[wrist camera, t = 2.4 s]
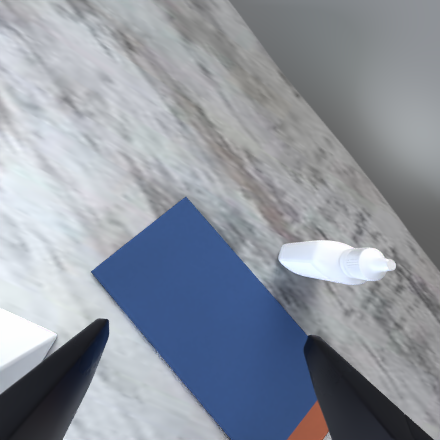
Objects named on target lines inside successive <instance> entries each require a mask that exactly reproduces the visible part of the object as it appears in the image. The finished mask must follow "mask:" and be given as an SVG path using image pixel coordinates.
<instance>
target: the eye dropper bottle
mask: <svg viewBox="0 0 440 440" xmlns="http://www.w3.org/2000/svg"><path fill="white" fill-rule="evenodd" d="M278 259H279V261H280V262H281V264H282V265H283V266H285V267H286V268H287V269H288V270H290V271H292V272H294V273H296V274H298V275H301V276H306V277H311V278H316V279H321V280H326V281H332V282H337V283H343V284H349V285H359V284H363V283H365V282H366V281H367V280H370V281H377V280H380V279H381V278H383V277H384V275H385V274H386V271H391V270H394V269H395V268H396V264H395V262H394V261H393V260H390V259H385V257H384V255H383V254H382V253H381V252H380V251H379V250H377V249H375V248H353V247H351V246H349V245H346V244H344V243H340V242H336V241H329V240H318V241H307V242H297V243H289V244H284V245H283V246H282V248H281V251H280V254H279V258H278Z"/></svg>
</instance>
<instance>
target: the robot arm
mask: <svg viewBox="0 0 440 440" xmlns="http://www.w3.org/2000/svg"><path fill="white" fill-rule="evenodd" d="M108 337H109V320H108V319H97V320H95V321H94V322H93V323H91V324H90V325H89V326H87V327H86V328H85V329H84V330H82V331H81V332H80V333H78V334H77V335H76V336H75V337H73V338H72V339H71V340H69V341H68V342H67V343H66V344H64V345H63V346H62V347H60V348H59V349H58V350H57V351H55V352H54V353H53V354H51V355H50V356H49V357H47V358H46V359H45V360H44V361H42V362H41V363H40V364H38V365H37V366H36V367H35V368H33V369H32V370H31V371H29V372H28V373H27V374H26V375H24V376H23V377H22V378H20V379H19V380H18V381H17V382H15V383H14V384H13V385H11V386H10V387H9V388H8V389H6V390H5V391H4V392H2V393H1V394H0V440H62V439H63V437H64V435H65V433H66V431H67V429H68V427H69V425H70V423H71V421H72V419H73V417H74V415H75V413H76V411H77V409H78V407H79V405H80V403H81V401H82V399H83V397H84V395H85V393H86V391H87V389H88V387H89V385H90V383H91V381H92V378H93V376H94V374H95V371H96V368H97V366H98V363H99V361H100V358H101V356H102V353H103V350H104V348H105V345H106V343H107V340H108ZM303 351H304V356H305V359H306V363H307V367H308V370H309V374H310V377H311V381H312V385H313V388H314V391H315V394H316V397H317V400H318V403H319V405H320V408H321V411H322V413H323V416H324V419H325V422H326V424H327V427H328V430H329V433H330V435H331V438H332V440H434V439H433V438H431V437H430V436H429V435H428V434H427V433H426V432H425V431H423V430H422V429H421V428H420V427H419V426H418V425H417V424H416V423H414V422H413V421H412V420H411V419H410V418H409V417H408V416H407V415H405V414H404V413H403V412H402V411H401V410H400V409H399V408H398V407H397V406H396V405H394V404H393V403H392V402H391V401H390V400H389V399H388V398H387V397H386V396H385V395H383V394H382V393H381V392H380V391H379V390H378V389H377V388H376V387H375V386H373V385H372V384H371V383H370V382H369V381H368V380H367V379H366V378H365V377H363V376H362V375H361V374H360V373H359V372H358V371H357V370H356V369H355V368H354V367H352V366H351V365H350V364H349V363H348V362H347V361H346V360H345V359H344V358H342V357H341V356H340V355H339V354H338V353H337V352H336V351H335V350H334V349H333V348H331V347H330V346H329V345H328V344H327V343H326V342H325V341H324V340H323V339H321V338H320V337H319V336H317V335H309V336H308V338H307V340H306V343H305V345H304V349H303Z"/></svg>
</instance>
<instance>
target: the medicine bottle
mask: <svg viewBox="0 0 440 440" xmlns="http://www.w3.org/2000/svg"><path fill="white" fill-rule="evenodd" d="M56 338H57V334H56V333H55V332H52V331H50V330H48V329H46V328H43V327H41V326H39V325H37V324H35V323H32V322H30V321H28V320H26V319H24V318H21V317H19V316H17V315H15V314H13V313H10V312H8V311H6V310H4V309H2V308H0V394H1V393H2V392H4V391H5V390H6V389H8V388H9V387H10V386H11V385H13V384H14V383H15V382H17V381H18V380H19V379H20V378H22V377H23V376H24V375H26V374H27V373H28V372H29V371H31V370H32V369H33V368H35V367H36V366H37V365H38V364H40V363H41V362H42V361H43V359H44V358H45V356H46V354H47V353H48V351H49V349H50V348H51V346H52V344H53V343H54V341H55V339H56Z"/></svg>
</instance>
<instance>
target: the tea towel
mask: <svg viewBox="0 0 440 440" xmlns="http://www.w3.org/2000/svg"><path fill="white" fill-rule="evenodd" d="M91 272H92V274H93V275H94V276H95V277H96V278H97V280H98V281H99V282H100V283H101V284H102V286H103V287H104V288H105V289H106V290H107V292H108V293H109V294H110V295H111V296H112V298H113V299H114V300H115V301H116V302H117V304H118V305H119V306H120V307H121V308H122V309H123V311H124V312H125V313H126V314H127V315H128V317H129V318H130V319H131V320H132V321H133V323H134V324H135V325H136V326H137V327H138V329H139V330H140V331H141V332H142V333H143V335H144V336H145V337H146V338H147V339H148V341H149V342H150V343H151V344H152V345H153V347H154V348H155V349H156V350H157V351H158V353H159V354H160V355H161V356H162V357H163V359H164V360H165V361H166V362H167V363H168V365H169V366H170V367H171V368H172V369H173V371H174V372H175V373H176V374H177V375H178V377H179V378H180V379H181V380H182V381H183V382H184V384H185V385H186V386H187V387H188V388H189V390H190V391H191V392H192V393H193V394H194V396H195V397H196V398H197V399H198V400H199V402H200V403H201V404H202V405H203V406H204V408H205V409H206V410H207V411H208V412H209V414H210V415H211V416H212V417H213V418H214V420H215V421H216V422H217V423H218V424H219V426H220V427H221V428H222V429H223V430H224V432H225V433H226V434H227V435H228V436H229V438H230V439H231V440H323V439H324V437H325V436H326V434H327V433H328V432H329V430H328V427H327V424H326V422H325V419H324V416H323V413H322V411H321V408H320V405H319V403H318V400H317V397H316V394H315V391H314V388H313V385H312V381H311V377H310V374H309V370H308V367H307V363H306V359H305V356H304V351H303V349H304V345H305V343H306V340H307V338H308V336H307V335H306V334H305V332H304V331H303V330H302V329H301V328H300V327H299V326H298V324H297V323H296V322H295V321H294V320H293V319H292V318H291V316H290V315H289V314H288V313H287V312H286V311H285V310H284V308H283V307H282V306H281V305H280V304H279V303H278V302H277V300H276V299H275V298H274V297H273V296H272V295H271V293H270V292H269V291H268V290H267V289H266V288H265V287H264V285H263V284H262V283H261V282H260V281H259V280H258V279H257V277H256V276H255V275H254V274H253V273H252V272H251V271H250V269H249V268H248V267H247V266H246V265H245V264H244V263H243V261H242V260H241V259H240V258H239V257H238V256H237V255H236V253H235V252H234V251H233V250H232V249H231V248H230V247H229V245H228V244H227V243H226V242H225V241H224V240H223V239H222V237H221V236H220V235H219V234H218V233H217V232H216V231H215V229H214V228H213V227H212V226H211V225H210V224H209V222H208V221H207V220H206V219H205V218H204V217H203V216H202V214H201V213H200V212H199V211H198V210H197V209H196V208H195V206H194V205H193V204H192V203H191V202H190V201H189V200H188V198H187V197H185V198H183V199H182V200H181V201H180V202H178V203H177V204H176V205H175V206H173V207H172V208H171V209H169V210H168V211H167V212H166V213H164V214H163V215H162V216H161V217H159V218H158V219H157V220H156V221H154V222H153V223H152V224H151V225H149V226H148V227H147V228H145V229H144V230H143V231H142V232H140V233H139V234H138V235H137V236H135V237H134V238H133V239H132V240H130V241H129V242H128V243H126V244H125V245H124V246H123V247H121V248H120V249H119V250H118V251H116V252H115V253H114V254H113V255H111V256H110V257H109V258H108V259H106V260H105V261H104V262H102V263H101V264H100V265H99V266H97V267H96V268H95V269H94V270H92V271H91Z"/></svg>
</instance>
